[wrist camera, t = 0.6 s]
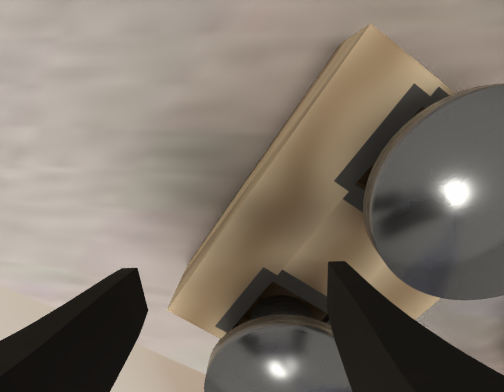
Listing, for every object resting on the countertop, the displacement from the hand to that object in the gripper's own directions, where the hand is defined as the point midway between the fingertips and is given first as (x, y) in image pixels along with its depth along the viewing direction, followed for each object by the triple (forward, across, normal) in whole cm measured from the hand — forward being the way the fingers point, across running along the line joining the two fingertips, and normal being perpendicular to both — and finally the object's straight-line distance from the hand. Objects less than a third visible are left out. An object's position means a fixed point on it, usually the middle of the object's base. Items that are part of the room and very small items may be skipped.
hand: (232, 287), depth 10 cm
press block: (+10, -6, +2) cm, 12 cm away
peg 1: (+5, -2, +7) cm, 9 cm away
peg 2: (+5, -9, -2) cm, 11 cm away
